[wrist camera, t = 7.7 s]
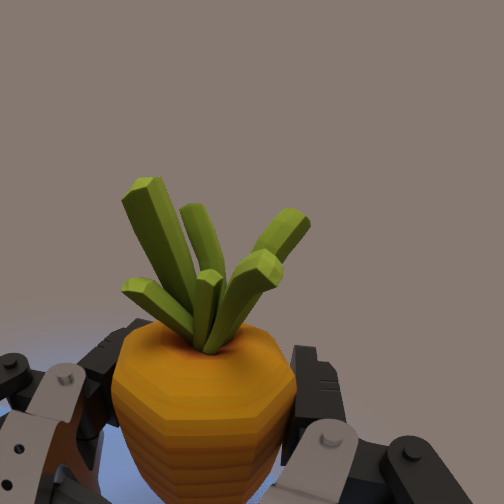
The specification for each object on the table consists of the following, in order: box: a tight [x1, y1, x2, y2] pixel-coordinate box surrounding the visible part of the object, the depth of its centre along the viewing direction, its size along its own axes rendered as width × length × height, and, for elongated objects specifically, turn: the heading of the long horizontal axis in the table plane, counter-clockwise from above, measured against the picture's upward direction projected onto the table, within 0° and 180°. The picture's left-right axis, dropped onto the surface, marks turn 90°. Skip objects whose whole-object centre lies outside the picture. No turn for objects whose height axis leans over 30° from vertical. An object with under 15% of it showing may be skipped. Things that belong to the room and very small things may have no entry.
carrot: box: [111, 177, 311, 504], centre depth 8 cm, size 5×5×15 cm
